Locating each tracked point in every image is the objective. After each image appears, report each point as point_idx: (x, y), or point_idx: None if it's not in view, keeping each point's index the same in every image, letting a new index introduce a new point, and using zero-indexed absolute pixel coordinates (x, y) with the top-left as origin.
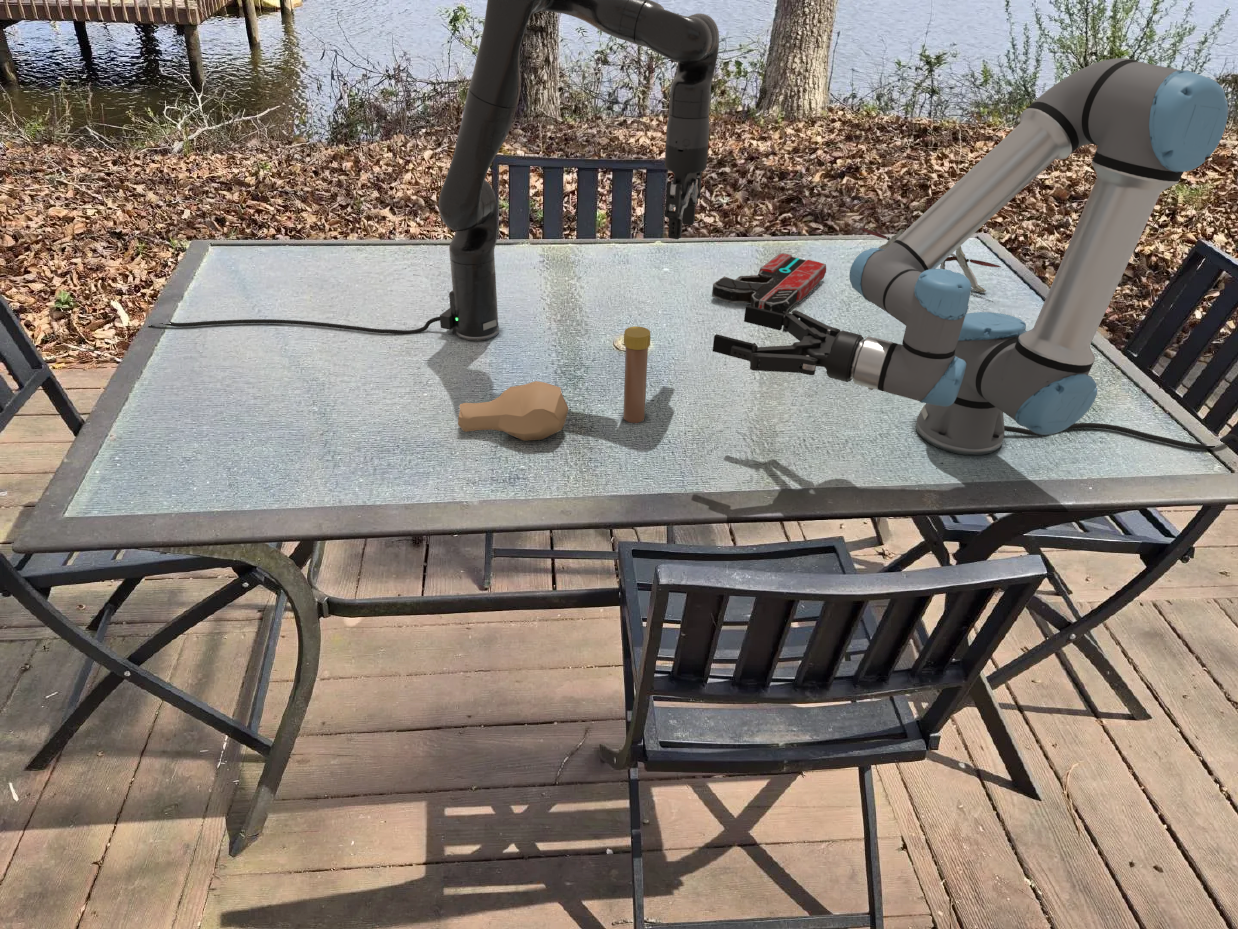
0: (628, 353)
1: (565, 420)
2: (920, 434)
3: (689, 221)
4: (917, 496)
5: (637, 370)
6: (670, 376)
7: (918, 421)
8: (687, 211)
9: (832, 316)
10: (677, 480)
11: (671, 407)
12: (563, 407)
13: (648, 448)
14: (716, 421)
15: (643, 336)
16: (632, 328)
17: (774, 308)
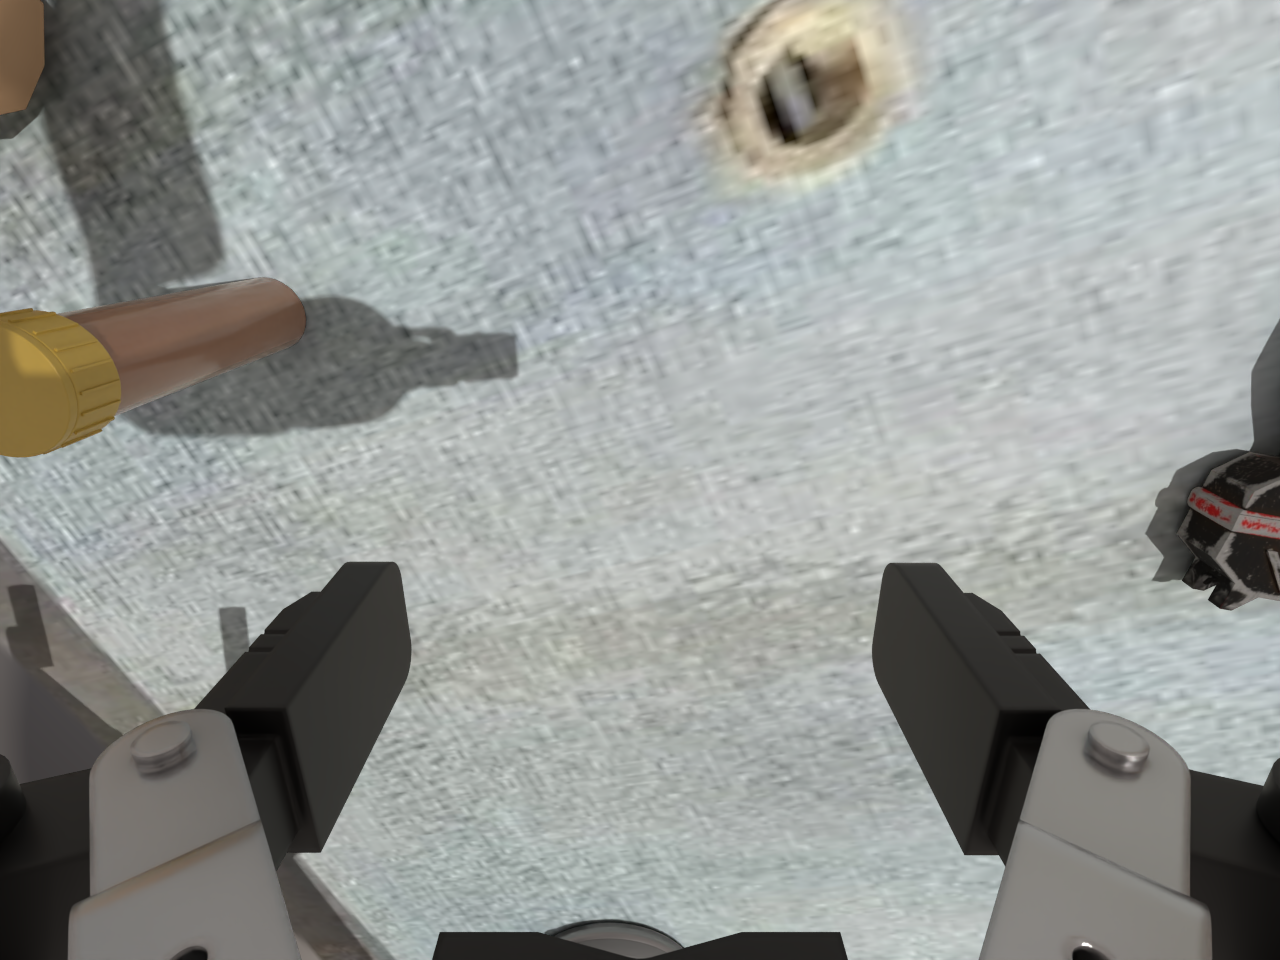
0: None
1: (12, 111)
2: (562, 934)
3: (889, 650)
4: (332, 938)
5: None
6: (596, 334)
7: (588, 943)
8: (941, 702)
9: (1218, 697)
10: (57, 534)
11: (397, 404)
12: None
13: (140, 417)
14: (391, 545)
15: None
16: (11, 352)
17: (1205, 556)
